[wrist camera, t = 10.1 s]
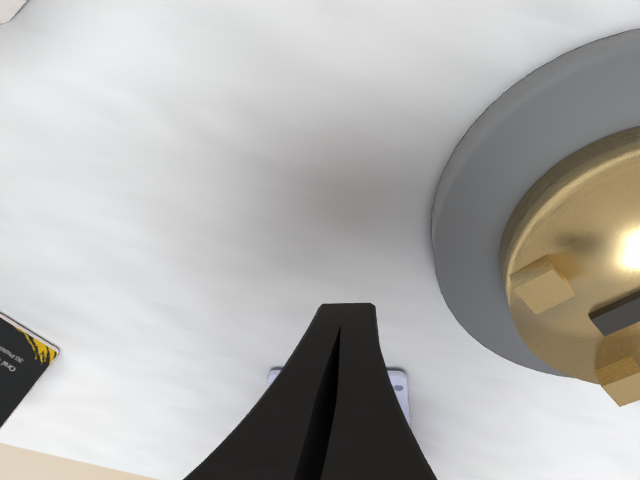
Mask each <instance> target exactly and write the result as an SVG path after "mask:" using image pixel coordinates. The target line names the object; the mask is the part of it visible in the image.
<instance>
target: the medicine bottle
mask: <svg viewBox="0 0 640 480" xmlns="http://www.w3.org/2000/svg"><path fill="white" fill-rule="evenodd" d="M58 353H59V351H58V349H57V348H56V347H54V346H53V345H51V344H49V343H48V342H46V341H44V340H43V339H41V338H39V337H38V336H36V335H35V334H33V333H31V332H30V331H28V330H26V329H25V328H23V327H22V326H20V325H18V324H17V323H15V322H13V321H12V320H10V319H9V318H7V317H5V316H4V315H2V314H0V429H1V428H2V427H3V425H4V424H5V423H6V422H7V420H8V419H9V418H10V416H11V415H12V414H13V413H14V411H15V410H16V409H17V407H18V406H19V405H20V404H21V402H22V401H23V400H24V398H25V397H26V396H27V395H28V393H29V392H30V391H31V389H32V388H33V387H34V386H35V384H36V383H37V382H38V380H39V379H40V378H41V377H42V375H43V374H44V373H45V371H46V370H47V369H48V368H49V366H50V365H51V364H52V362H53V361H54V360H55V359H56V357H57V356H58Z"/></svg>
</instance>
